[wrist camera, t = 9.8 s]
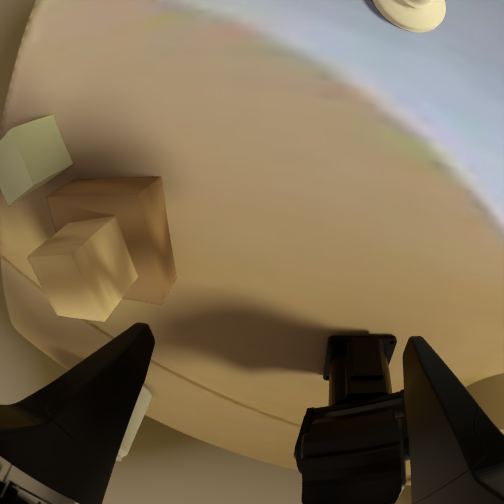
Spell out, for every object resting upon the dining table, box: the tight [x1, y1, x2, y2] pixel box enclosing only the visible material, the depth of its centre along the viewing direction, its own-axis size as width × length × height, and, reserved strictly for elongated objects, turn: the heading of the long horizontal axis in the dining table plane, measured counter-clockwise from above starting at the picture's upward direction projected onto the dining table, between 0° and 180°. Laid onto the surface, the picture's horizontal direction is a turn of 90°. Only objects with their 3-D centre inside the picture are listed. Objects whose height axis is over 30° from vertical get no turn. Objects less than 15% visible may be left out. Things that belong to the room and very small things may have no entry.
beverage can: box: [116, 384, 152, 461], centre depth 33 cm, size 6×6×12 cm
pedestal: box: [46, 177, 177, 305], centre depth 23 cm, size 9×9×4 cm
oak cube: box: [27, 216, 138, 322], centre depth 19 cm, size 5×5×5 cm
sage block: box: [0, 114, 73, 207], centre depth 19 cm, size 5×5×5 cm
